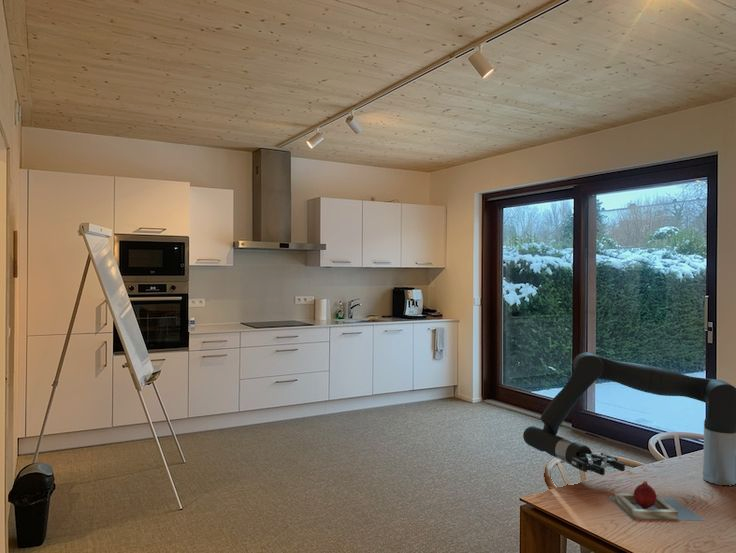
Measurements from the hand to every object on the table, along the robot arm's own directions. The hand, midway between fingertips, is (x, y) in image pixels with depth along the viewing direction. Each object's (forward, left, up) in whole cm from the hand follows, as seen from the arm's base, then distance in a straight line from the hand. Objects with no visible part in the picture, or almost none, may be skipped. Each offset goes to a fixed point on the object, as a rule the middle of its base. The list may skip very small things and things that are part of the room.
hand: (614, 469), depth 165 cm
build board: (-8, +9, -9) cm, 15 cm away
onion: (-5, +10, -8) cm, 13 cm away
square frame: (-5, +10, -8) cm, 13 cm away
